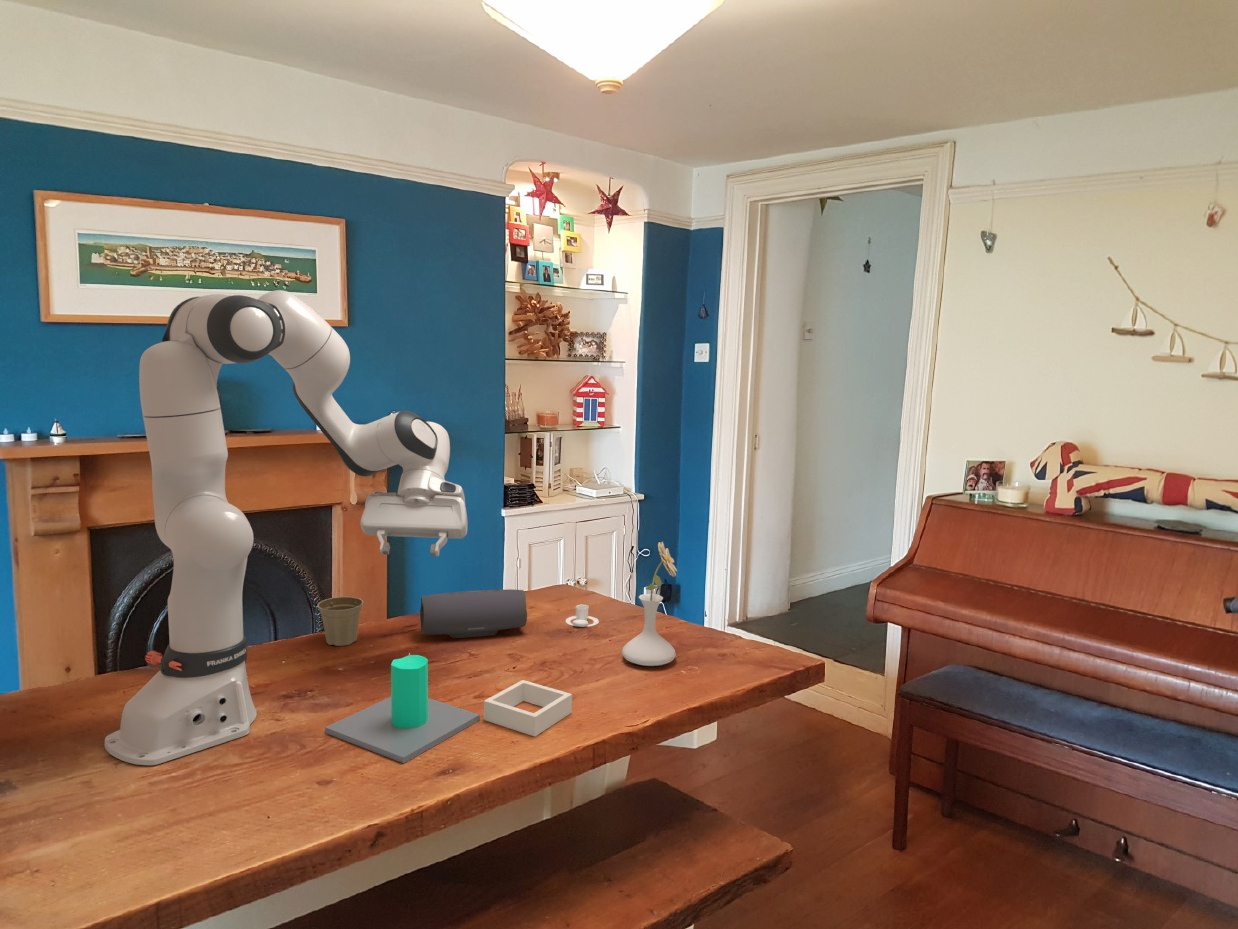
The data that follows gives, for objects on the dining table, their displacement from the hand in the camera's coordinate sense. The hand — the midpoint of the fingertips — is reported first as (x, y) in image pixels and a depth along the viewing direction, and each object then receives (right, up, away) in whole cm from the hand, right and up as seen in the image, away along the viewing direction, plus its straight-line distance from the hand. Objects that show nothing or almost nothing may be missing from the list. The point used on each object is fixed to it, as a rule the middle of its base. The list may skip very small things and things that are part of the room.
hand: (409, 553), depth 155 cm
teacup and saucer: (+28, -21, +39) cm, 53 cm away
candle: (+4, -27, -15) cm, 31 cm away
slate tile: (+3, -28, -16) cm, 32 cm away
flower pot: (-20, -22, +22) cm, 37 cm away
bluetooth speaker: (+7, -22, +30) cm, 37 cm away
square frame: (+24, -28, -10) cm, 38 cm away
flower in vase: (+46, -24, +18) cm, 55 cm away
